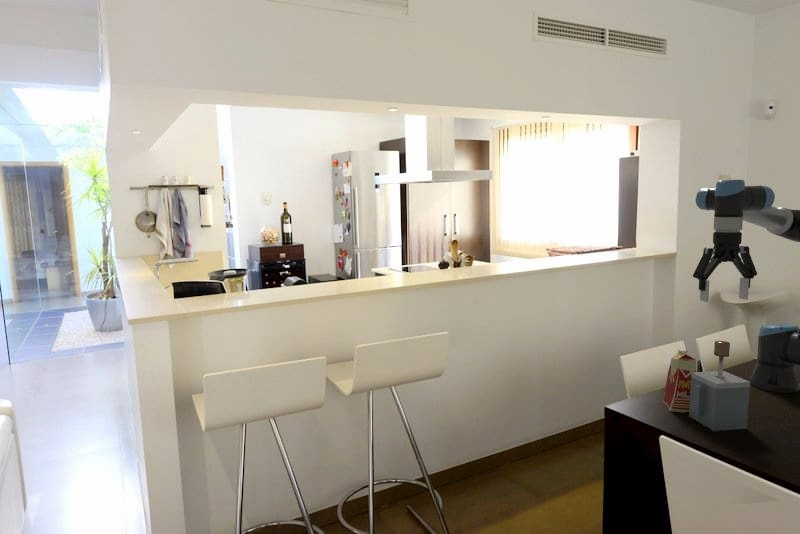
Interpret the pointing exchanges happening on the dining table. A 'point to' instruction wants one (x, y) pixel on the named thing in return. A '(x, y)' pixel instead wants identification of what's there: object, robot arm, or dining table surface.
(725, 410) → the grey box with hole
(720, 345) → the plunger
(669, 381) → the milk carton
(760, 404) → the dining table surface
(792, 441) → the dining table surface
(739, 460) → the dining table surface
